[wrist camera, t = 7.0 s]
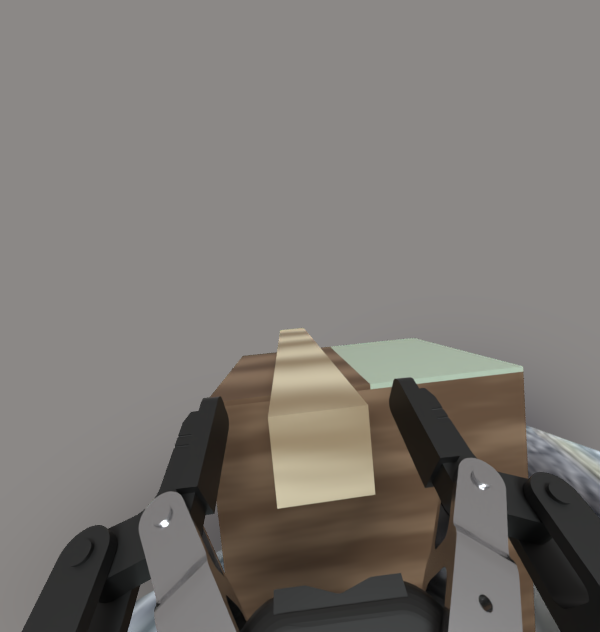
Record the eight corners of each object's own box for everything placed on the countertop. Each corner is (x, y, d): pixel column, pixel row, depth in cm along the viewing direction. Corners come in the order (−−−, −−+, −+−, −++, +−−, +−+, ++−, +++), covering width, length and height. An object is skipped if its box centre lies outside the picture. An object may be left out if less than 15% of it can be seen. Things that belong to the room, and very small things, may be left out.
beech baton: (375, 494, 8) (368, 405, 8) (277, 508, 8) (267, 416, 8) (305, 349, 34) (303, 327, 34) (282, 351, 34) (280, 330, 34)
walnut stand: (540, 742, 21) (523, 366, 19) (251, 803, 19) (205, 402, 18) (428, 551, 37) (413, 338, 35) (266, 577, 35) (242, 356, 33)
